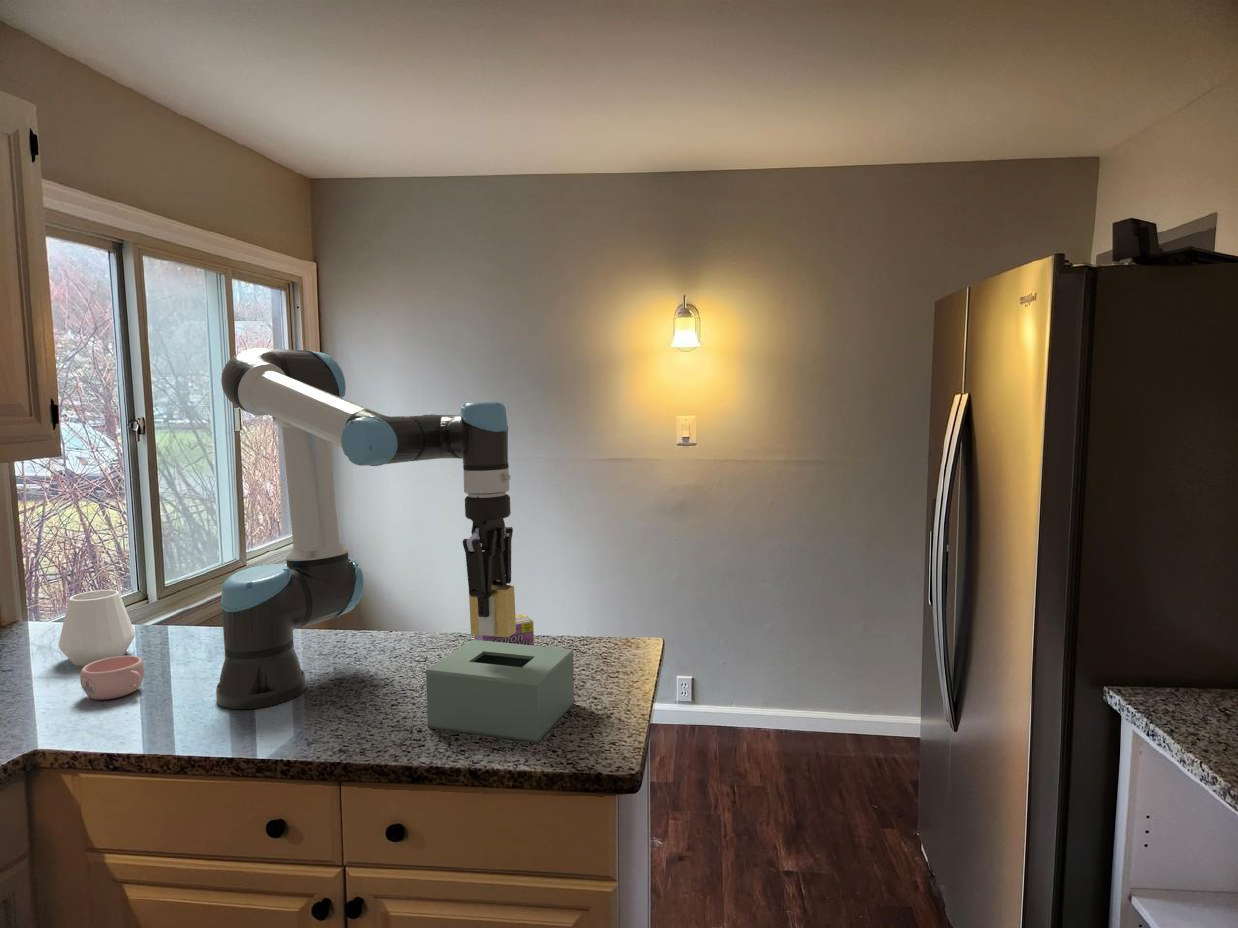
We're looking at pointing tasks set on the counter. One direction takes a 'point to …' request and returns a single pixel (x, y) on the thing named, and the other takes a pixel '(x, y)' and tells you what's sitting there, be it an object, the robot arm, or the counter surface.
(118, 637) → the white faceted vase
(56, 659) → the counter surface
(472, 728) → the box
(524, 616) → the box
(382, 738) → the counter surface
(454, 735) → the counter surface
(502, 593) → the tan rectangular block
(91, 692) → the mug
